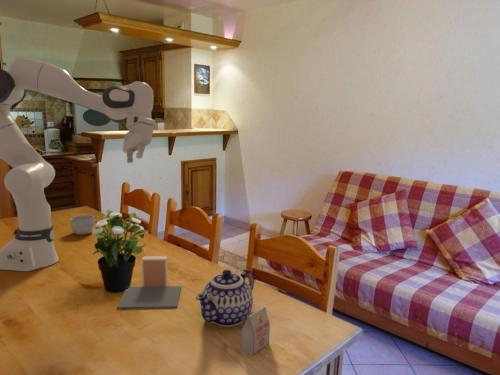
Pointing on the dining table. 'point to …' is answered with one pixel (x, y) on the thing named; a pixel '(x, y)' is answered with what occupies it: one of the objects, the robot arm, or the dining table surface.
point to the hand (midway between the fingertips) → (134, 160)
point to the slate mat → (150, 297)
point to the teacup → (82, 224)
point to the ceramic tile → (154, 271)
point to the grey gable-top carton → (256, 332)
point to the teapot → (227, 298)
